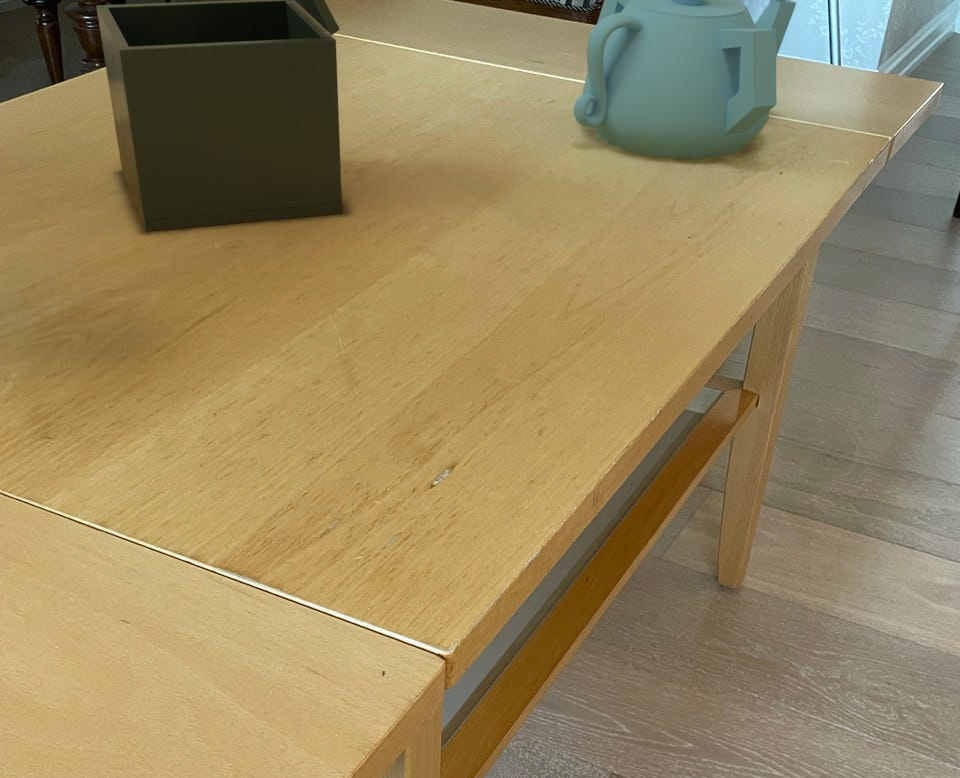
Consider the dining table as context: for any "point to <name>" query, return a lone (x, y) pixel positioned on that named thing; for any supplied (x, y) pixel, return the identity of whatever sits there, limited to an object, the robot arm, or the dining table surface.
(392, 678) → the dining table surface
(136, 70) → the trash bin
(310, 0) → the bin lid
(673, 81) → the teapot
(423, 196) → the dining table surface
